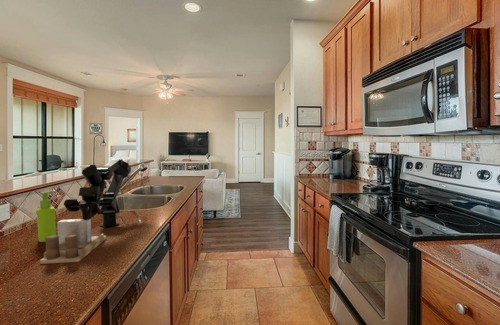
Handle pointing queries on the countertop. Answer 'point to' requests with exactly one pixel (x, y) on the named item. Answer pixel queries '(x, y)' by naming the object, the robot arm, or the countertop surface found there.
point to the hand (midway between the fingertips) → (84, 222)
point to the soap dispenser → (46, 218)
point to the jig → (68, 249)
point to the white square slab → (75, 231)
